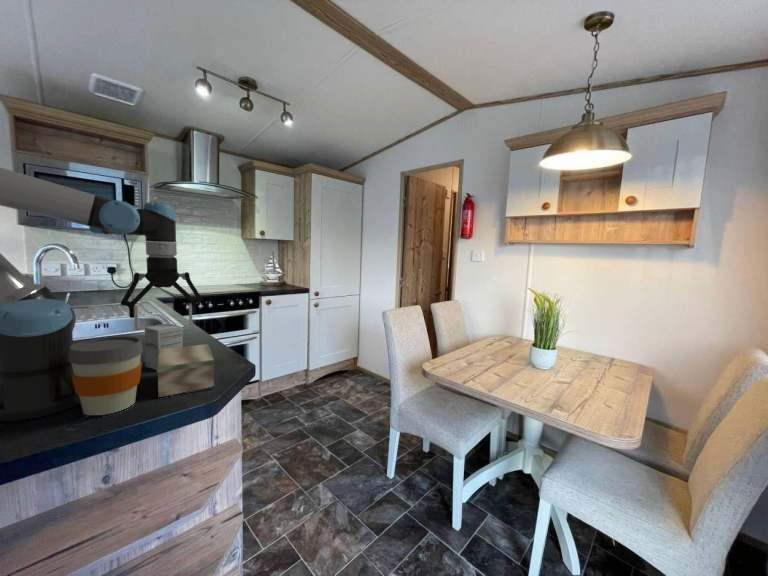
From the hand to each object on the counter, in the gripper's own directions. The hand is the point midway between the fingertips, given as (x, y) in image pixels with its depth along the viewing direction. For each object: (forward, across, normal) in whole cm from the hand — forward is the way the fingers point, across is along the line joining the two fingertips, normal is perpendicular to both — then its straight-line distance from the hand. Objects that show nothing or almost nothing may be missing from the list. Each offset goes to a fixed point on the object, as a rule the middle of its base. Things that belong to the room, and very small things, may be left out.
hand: (165, 326), depth 98 cm
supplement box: (+13, 0, 0) cm, 13 cm away
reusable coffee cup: (+13, -10, -25) cm, 30 cm away
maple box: (+13, +4, -17) cm, 22 cm away
